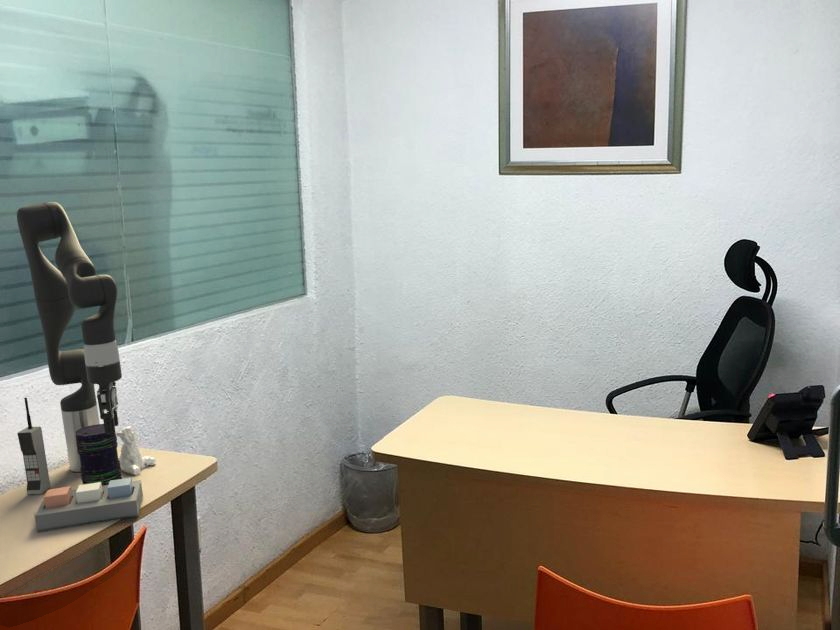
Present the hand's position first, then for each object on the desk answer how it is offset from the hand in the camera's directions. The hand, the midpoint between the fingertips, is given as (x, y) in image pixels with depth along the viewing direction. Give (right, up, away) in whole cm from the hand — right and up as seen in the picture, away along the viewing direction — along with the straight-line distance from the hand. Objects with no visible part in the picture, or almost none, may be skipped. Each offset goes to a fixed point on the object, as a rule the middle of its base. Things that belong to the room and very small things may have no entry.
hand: (112, 429), depth 199 cm
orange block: (-12, -18, 0) cm, 22 cm away
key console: (-5, -20, +2) cm, 21 cm away
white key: (-6, -17, +1) cm, 18 cm away
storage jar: (-10, -17, +21) cm, 29 cm away
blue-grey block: (+1, -16, +3) cm, 17 cm away
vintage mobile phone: (-26, -19, +19) cm, 37 cm away
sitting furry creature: (-5, -15, +31) cm, 35 cm away
